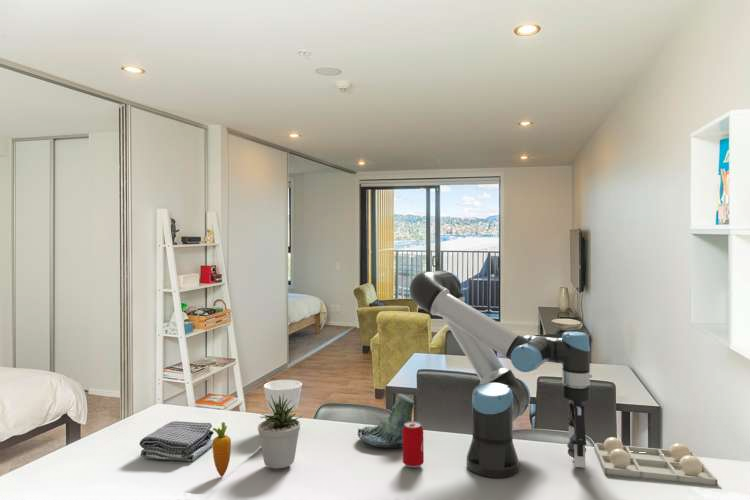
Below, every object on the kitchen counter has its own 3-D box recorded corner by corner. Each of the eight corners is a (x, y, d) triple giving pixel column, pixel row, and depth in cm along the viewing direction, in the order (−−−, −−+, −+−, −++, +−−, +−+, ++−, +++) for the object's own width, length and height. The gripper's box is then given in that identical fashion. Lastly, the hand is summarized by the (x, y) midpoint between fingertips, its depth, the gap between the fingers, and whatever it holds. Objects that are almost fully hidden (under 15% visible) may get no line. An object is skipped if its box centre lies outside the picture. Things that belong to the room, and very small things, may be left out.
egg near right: (683, 478, 137) (682, 458, 137) (676, 469, 142) (676, 451, 142) (705, 480, 135) (705, 461, 135) (698, 472, 140) (697, 453, 140)
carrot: (220, 482, 136) (220, 428, 136) (208, 477, 139) (208, 424, 139) (234, 475, 141) (234, 422, 141) (222, 471, 143) (222, 419, 143)
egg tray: (604, 474, 140) (604, 467, 140) (594, 448, 158) (593, 442, 158) (717, 487, 132) (717, 479, 132) (692, 458, 151) (692, 451, 151)
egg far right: (672, 464, 145) (672, 446, 145) (667, 457, 151) (666, 439, 151) (693, 466, 144) (693, 448, 144) (686, 458, 149) (686, 441, 149)
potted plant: (311, 461, 150) (311, 395, 150) (274, 476, 140) (274, 406, 140) (286, 449, 158) (286, 387, 158) (249, 463, 148) (249, 397, 148)
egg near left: (611, 470, 141) (611, 451, 141) (607, 462, 147) (607, 444, 147) (632, 472, 140) (632, 454, 140) (627, 464, 145) (627, 446, 145)
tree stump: (360, 424, 178) (380, 379, 179) (411, 449, 176) (431, 403, 176) (352, 439, 160) (374, 389, 161) (408, 468, 157) (431, 416, 158)
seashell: (588, 471, 142) (587, 436, 142) (568, 469, 143) (568, 435, 143) (584, 463, 148) (584, 429, 148) (565, 461, 149) (565, 428, 149)
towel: (167, 441, 167) (167, 417, 167) (217, 445, 163) (217, 421, 163) (137, 459, 152) (137, 434, 152) (191, 464, 148) (191, 438, 148)
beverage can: (426, 461, 149) (426, 422, 149) (419, 470, 143) (419, 429, 143) (407, 458, 152) (406, 419, 152) (399, 466, 146) (399, 426, 146)
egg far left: (605, 457, 150) (605, 440, 150) (602, 450, 155) (602, 433, 155) (625, 459, 149) (625, 441, 149) (621, 452, 154) (621, 435, 154)
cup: (257, 434, 172) (257, 389, 172) (272, 420, 185) (271, 378, 185) (295, 436, 170) (294, 390, 170) (307, 422, 183) (306, 380, 183)
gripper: (597, 398, 133) (597, 476, 132) (583, 375, 157) (584, 442, 157) (567, 396, 135) (567, 473, 134) (558, 373, 159) (559, 439, 159)
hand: (576, 456), depth 146 cm, fingers open, 13 cm apart
